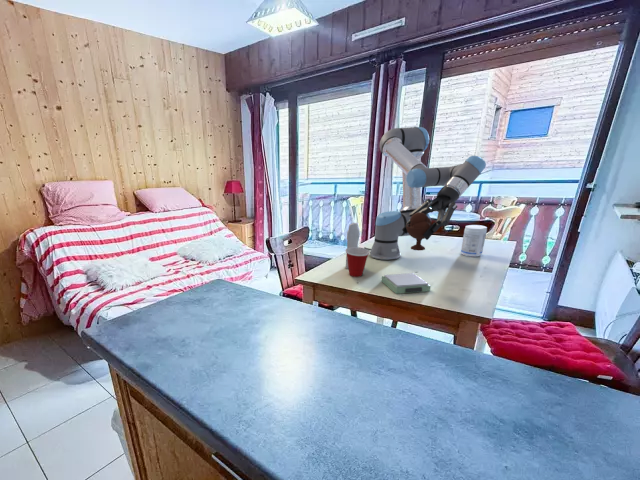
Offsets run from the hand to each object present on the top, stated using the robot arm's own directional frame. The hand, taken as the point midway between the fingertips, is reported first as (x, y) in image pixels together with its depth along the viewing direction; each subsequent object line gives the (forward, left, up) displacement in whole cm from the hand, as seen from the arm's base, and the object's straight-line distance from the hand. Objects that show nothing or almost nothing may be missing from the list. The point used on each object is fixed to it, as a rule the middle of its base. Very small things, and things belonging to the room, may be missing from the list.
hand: (414, 234), depth 132 cm
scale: (+3, -3, -21) cm, 22 cm away
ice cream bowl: (-1, +3, -6) cm, 7 cm away
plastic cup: (-14, -18, -22) cm, 31 cm away
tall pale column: (-27, -16, -22) cm, 38 cm away
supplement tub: (-32, +49, -22) cm, 63 cm away
